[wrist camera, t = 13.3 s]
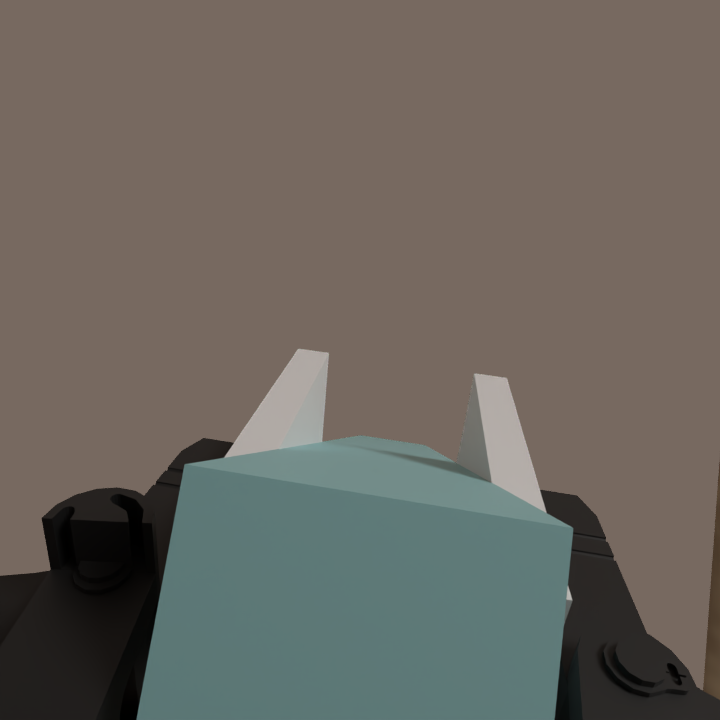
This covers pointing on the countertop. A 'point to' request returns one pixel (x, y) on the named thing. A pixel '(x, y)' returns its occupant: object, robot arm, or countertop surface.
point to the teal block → (356, 591)
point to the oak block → (714, 615)
